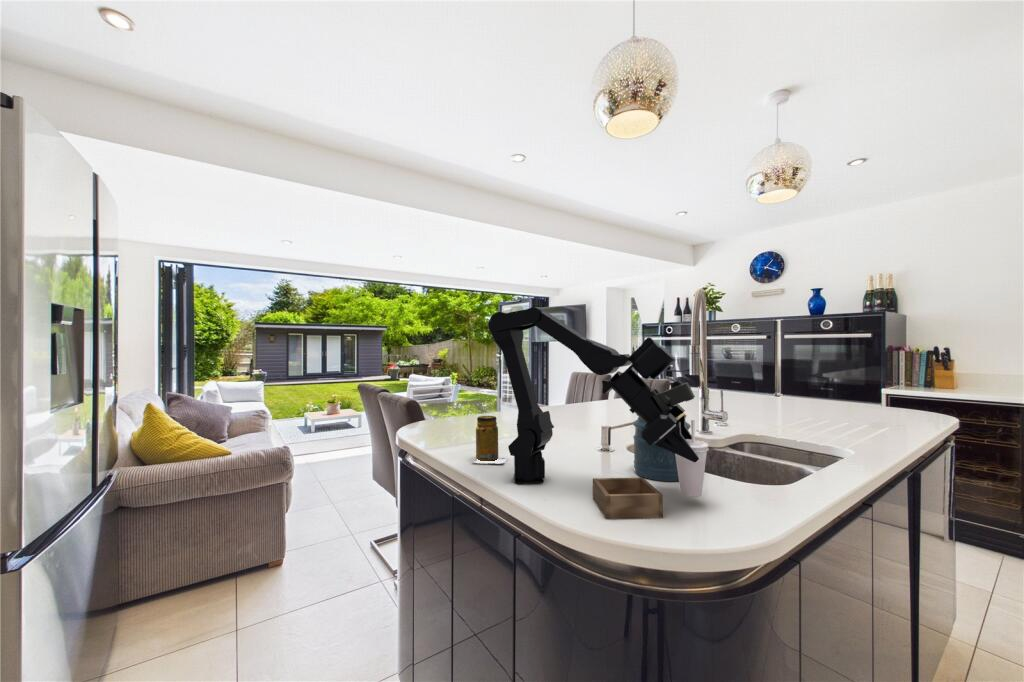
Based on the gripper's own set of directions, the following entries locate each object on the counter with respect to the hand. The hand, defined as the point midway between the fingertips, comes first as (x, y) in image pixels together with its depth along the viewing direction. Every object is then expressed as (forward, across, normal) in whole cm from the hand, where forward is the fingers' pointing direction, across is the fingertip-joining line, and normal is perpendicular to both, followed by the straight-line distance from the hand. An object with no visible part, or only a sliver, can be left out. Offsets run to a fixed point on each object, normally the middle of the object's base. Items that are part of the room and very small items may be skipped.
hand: (698, 456), depth 78 cm
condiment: (-30, +10, +44) cm, 54 cm away
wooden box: (-2, -7, +15) cm, 17 cm away
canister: (0, +18, +13) cm, 22 cm away
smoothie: (+4, 0, +6) cm, 8 cm away
